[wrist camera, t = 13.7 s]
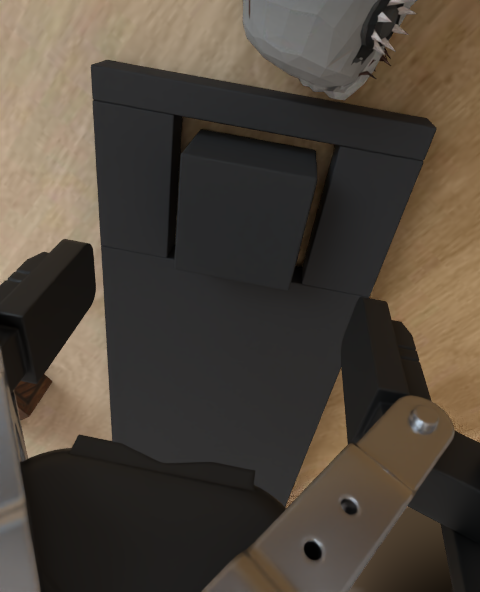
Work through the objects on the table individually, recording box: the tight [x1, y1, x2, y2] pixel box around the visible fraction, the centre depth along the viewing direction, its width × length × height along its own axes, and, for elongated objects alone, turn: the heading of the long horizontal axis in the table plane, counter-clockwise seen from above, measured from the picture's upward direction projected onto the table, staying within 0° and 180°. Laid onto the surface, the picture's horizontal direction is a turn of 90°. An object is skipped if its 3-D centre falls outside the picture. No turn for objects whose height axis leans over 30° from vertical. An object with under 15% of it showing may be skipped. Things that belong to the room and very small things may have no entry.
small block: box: [174, 129, 317, 291], centre depth 18 cm, size 5×5×4 cm
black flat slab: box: [91, 60, 436, 507], centre depth 26 cm, size 34×13×2 cm, turn 172°
